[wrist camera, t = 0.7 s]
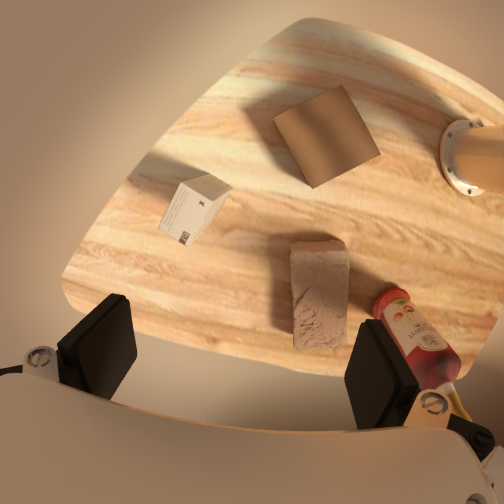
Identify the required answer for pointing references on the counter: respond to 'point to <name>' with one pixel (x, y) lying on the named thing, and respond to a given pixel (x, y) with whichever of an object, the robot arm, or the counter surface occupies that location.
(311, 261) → the brick
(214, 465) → the robot arm
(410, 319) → the liquor
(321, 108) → the walnut block
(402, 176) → the counter surface
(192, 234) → the skincare box
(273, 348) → the counter surface
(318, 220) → the counter surface
